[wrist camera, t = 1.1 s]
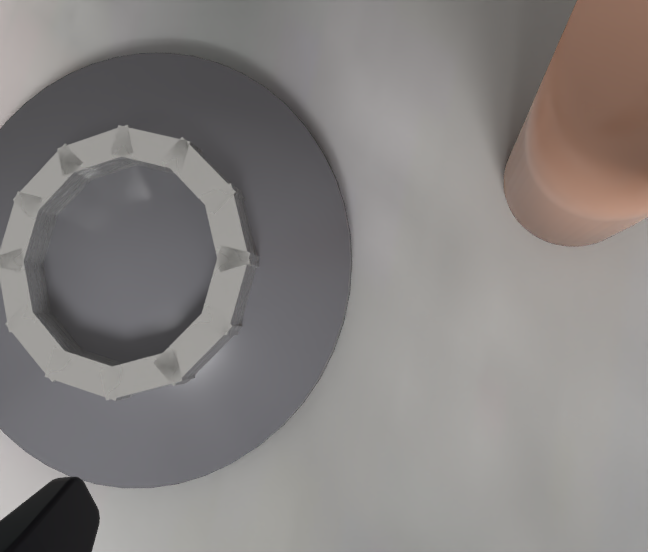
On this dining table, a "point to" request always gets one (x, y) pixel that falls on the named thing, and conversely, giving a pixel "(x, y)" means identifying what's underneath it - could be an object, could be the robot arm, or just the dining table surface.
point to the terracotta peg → (587, 131)
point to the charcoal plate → (174, 271)
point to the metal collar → (34, 237)
